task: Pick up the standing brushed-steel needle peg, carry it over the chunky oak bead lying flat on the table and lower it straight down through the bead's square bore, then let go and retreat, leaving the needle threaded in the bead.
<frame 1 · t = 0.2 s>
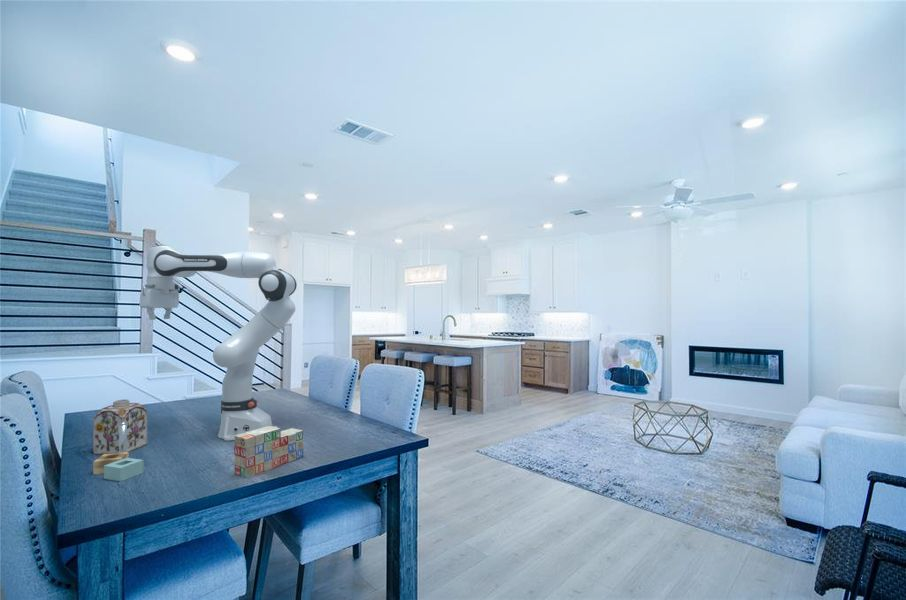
hand: (159, 319, 174), 47 cm above the table, fingers open, 8 cm apart
stack of blocks: (270, 465, 141), on the table
green block with hole: (124, 475, 133), on the table
decorative jar: (121, 449, 158), on the table
steel needle peg: (122, 460, 147), on the table
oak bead: (111, 468, 139), on the table
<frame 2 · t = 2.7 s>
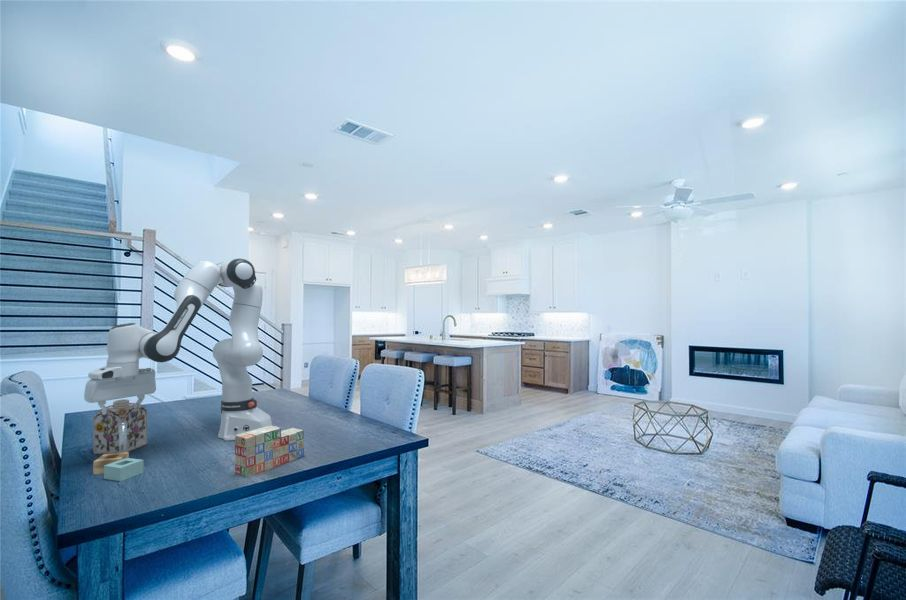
hand: (121, 411, 146), 17 cm above the table, fingers open, 8 cm apart
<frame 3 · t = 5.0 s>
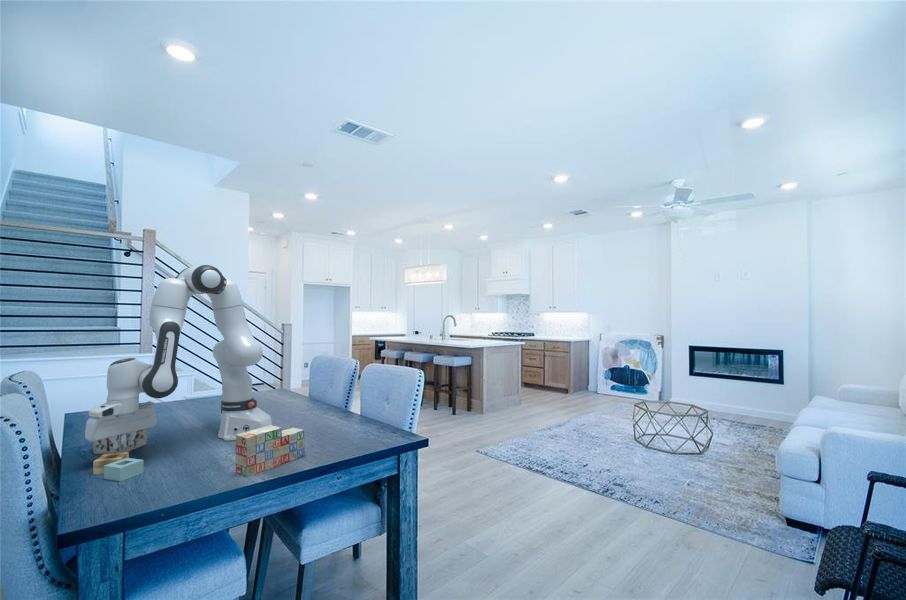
hand: (123, 446, 147), 5 cm above the table, fingers closed on steel needle peg, 2 cm apart
steel needle peg: (122, 460, 147), on the table, touching gripper
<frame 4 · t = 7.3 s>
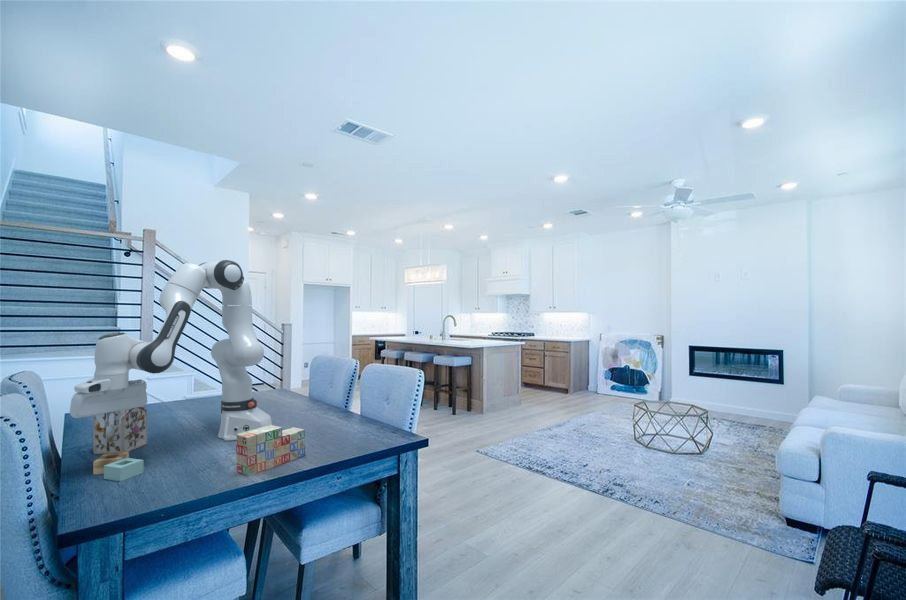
hand: (110, 425, 139), 14 cm above the table, fingers closed on steel needle peg, 2 cm apart
steel needle peg: (110, 441, 138), point 9 cm above the table, touching gripper
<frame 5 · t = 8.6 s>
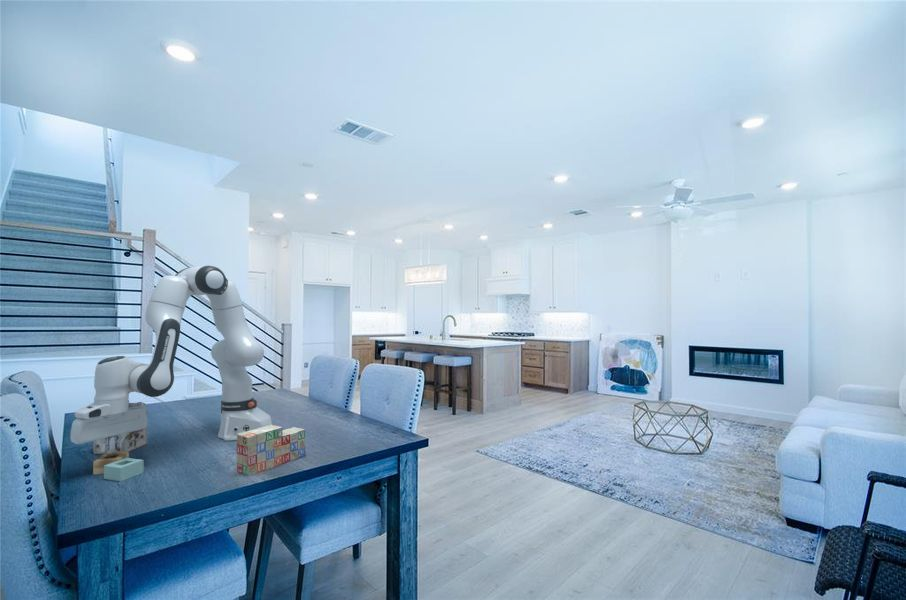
hand: (111, 449, 139), 6 cm above the table, fingers closed on steel needle peg, 2 cm apart
steel needle peg: (111, 465, 139), point 1 cm above the table, touching gripper
when the fingers open (6 cm above the table, at t = 9.5 s): steel needle peg stays where it is, resting in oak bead.
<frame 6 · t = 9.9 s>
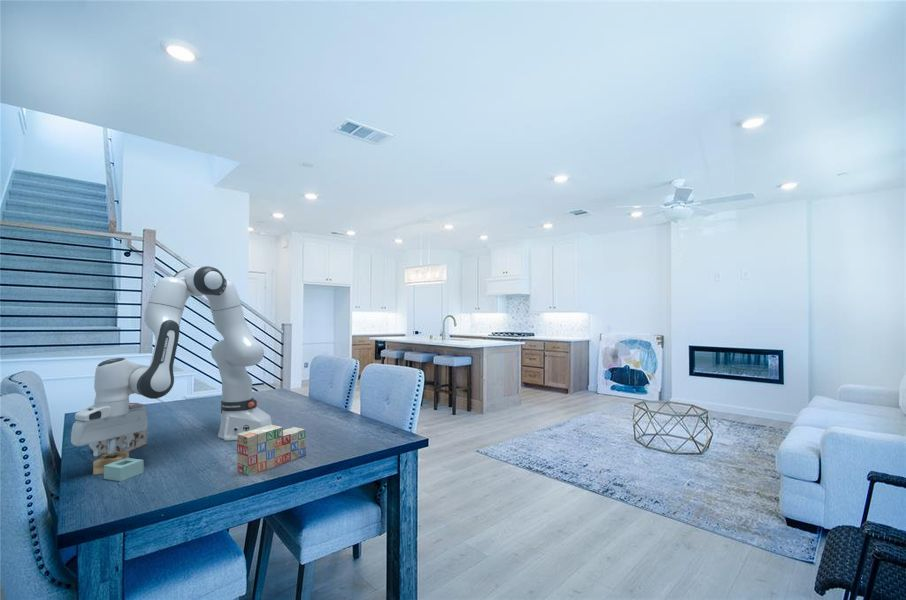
hand: (111, 451, 139), 6 cm above the table, fingers open, 6 cm apart
steel needle peg: (112, 468, 139), resting in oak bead
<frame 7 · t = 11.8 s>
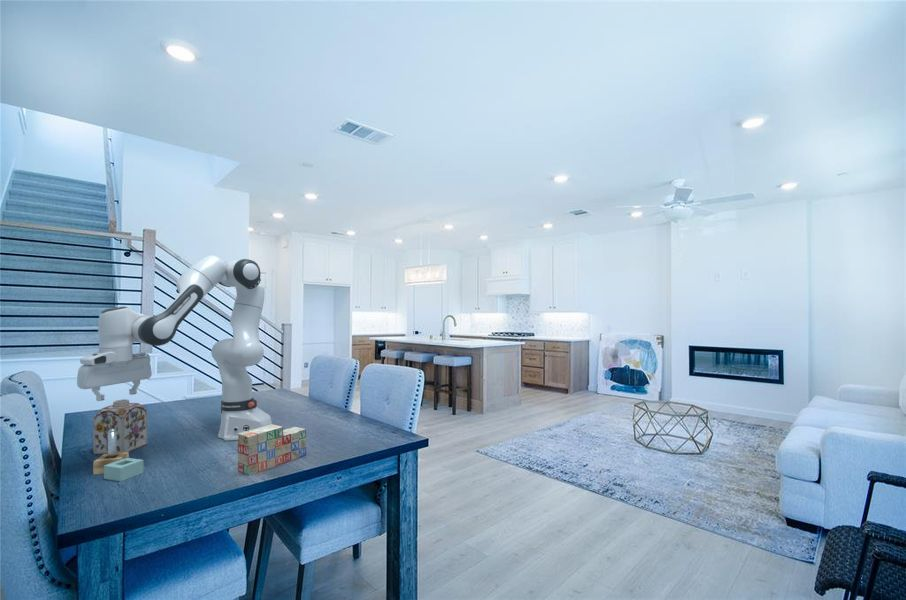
hand: (117, 397, 142), 23 cm above the table, fingers open, 8 cm apart
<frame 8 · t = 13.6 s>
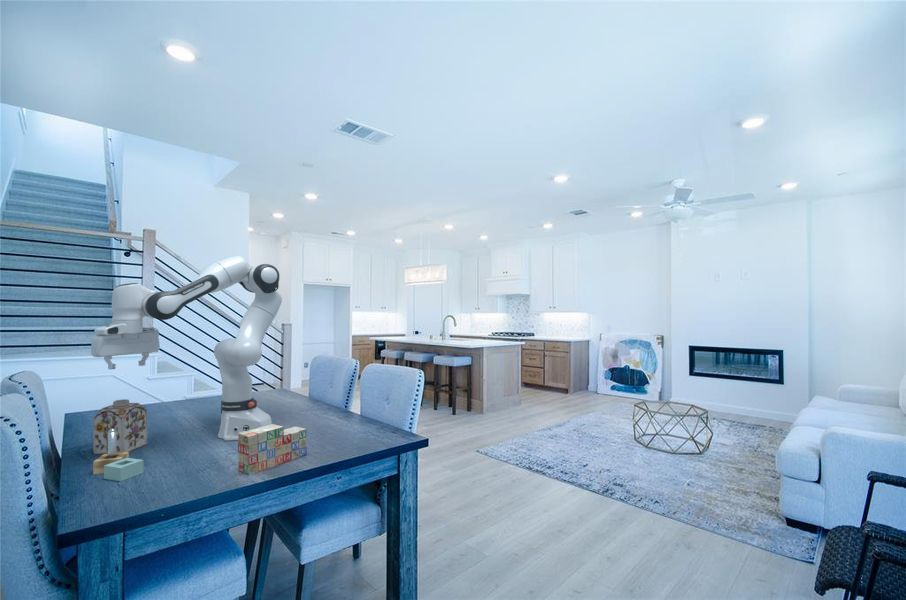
hand: (127, 367, 152), 31 cm above the table, fingers open, 8 cm apart
at the end: steel needle peg 0.1 cm from the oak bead (horizontally); steel needle peg resting in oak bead; the gripper is holding nothing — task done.
